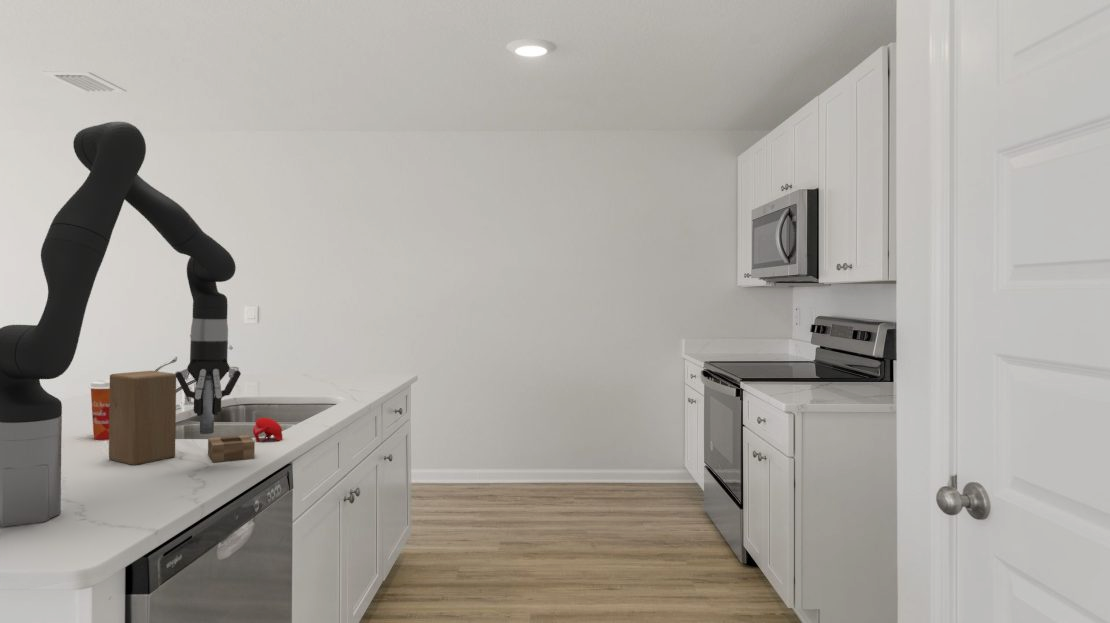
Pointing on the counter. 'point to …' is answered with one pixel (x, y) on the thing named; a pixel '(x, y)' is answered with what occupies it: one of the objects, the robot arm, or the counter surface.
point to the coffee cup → (100, 409)
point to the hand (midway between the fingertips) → (207, 414)
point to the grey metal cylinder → (207, 405)
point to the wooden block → (142, 416)
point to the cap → (267, 428)
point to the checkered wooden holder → (231, 448)
